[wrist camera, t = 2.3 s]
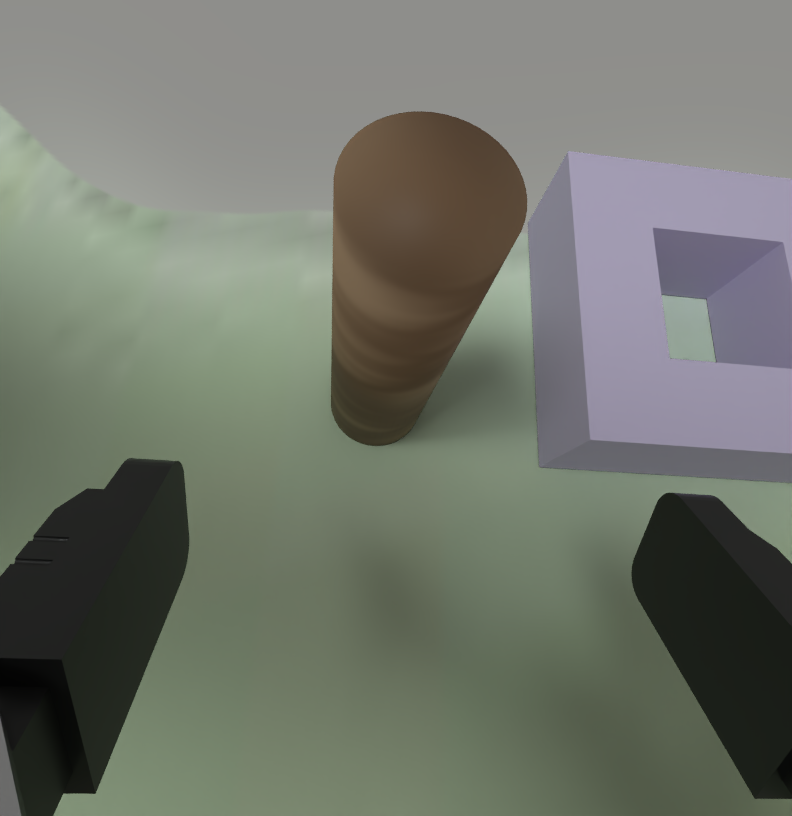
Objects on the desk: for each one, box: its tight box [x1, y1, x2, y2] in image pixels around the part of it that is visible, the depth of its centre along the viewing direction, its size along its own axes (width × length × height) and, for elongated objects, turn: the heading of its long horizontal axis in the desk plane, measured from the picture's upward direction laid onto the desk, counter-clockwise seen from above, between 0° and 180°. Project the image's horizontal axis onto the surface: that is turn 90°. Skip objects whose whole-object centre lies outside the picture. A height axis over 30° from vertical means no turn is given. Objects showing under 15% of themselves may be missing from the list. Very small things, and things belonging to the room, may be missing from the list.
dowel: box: [331, 112, 527, 446], centre depth 18 cm, size 4×4×14 cm
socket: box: [528, 151, 792, 483], centre depth 24 cm, size 13×13×5 cm
